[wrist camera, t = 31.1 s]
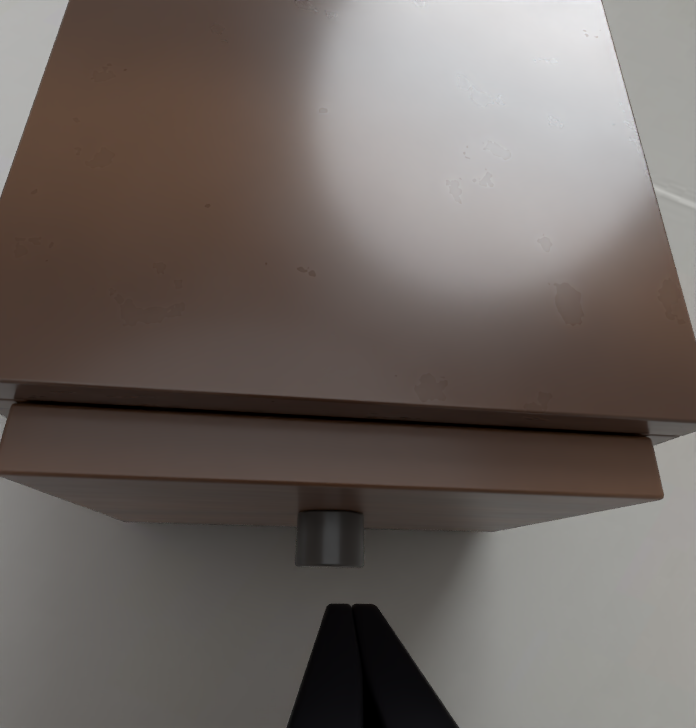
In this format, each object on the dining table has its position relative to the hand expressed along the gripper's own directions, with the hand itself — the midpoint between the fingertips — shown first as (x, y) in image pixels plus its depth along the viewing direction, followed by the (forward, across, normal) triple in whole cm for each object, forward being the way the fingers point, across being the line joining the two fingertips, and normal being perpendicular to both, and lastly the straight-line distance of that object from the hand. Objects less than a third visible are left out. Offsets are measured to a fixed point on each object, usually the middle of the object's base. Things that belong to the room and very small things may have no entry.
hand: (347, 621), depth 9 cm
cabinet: (+14, 0, -2) cm, 14 cm away
